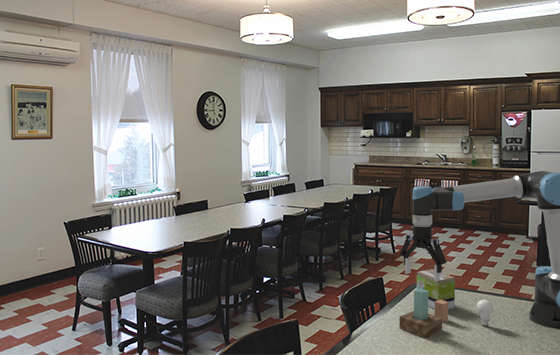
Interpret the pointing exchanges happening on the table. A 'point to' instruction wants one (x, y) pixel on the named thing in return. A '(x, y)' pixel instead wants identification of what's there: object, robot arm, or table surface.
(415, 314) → the long peg
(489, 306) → the lightbulb
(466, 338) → the table surface
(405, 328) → the socket block
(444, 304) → the short peg
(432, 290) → the tea box
